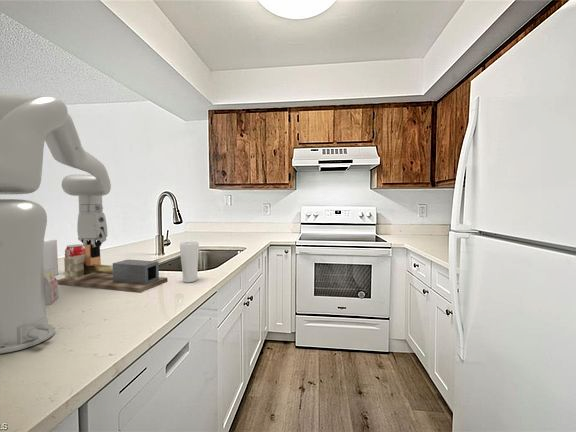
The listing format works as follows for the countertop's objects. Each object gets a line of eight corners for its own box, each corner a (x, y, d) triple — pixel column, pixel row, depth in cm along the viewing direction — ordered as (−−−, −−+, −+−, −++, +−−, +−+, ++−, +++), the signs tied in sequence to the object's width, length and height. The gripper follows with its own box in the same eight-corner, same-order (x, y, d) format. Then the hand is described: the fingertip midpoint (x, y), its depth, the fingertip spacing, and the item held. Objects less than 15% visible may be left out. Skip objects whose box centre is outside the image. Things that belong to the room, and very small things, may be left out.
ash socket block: (101, 273, 118) (100, 254, 118) (77, 280, 108) (76, 259, 108) (89, 272, 120) (88, 253, 119) (65, 279, 110) (64, 258, 110)
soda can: (61, 274, 123) (60, 246, 122) (77, 270, 130) (76, 243, 129) (73, 275, 121) (72, 247, 120) (89, 271, 128) (88, 244, 127)
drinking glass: (177, 282, 112) (176, 243, 111) (190, 277, 118) (189, 241, 117) (189, 284, 108) (189, 244, 108) (202, 279, 114) (202, 242, 114)
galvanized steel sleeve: (158, 279, 109) (158, 261, 109) (145, 285, 102) (144, 265, 102) (128, 277, 113) (127, 259, 112) (113, 282, 106) (112, 263, 106)
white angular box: (35, 306, 86) (33, 273, 85) (43, 299, 92) (42, 268, 92) (51, 304, 87) (49, 272, 87) (58, 297, 94) (56, 267, 93)
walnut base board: (167, 281, 112) (167, 277, 112) (140, 292, 99) (140, 288, 99) (90, 274, 122) (90, 271, 122) (55, 284, 109) (55, 280, 109)
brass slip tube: (133, 274, 110) (132, 245, 110) (125, 276, 106) (124, 246, 106) (88, 270, 116) (86, 242, 115) (78, 272, 112) (77, 244, 111)
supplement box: (59, 274, 123) (57, 239, 122) (34, 280, 114) (32, 242, 113) (46, 272, 126) (44, 238, 125) (20, 277, 118) (18, 241, 117)
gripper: (116, 209, 113) (117, 256, 114) (83, 208, 117) (85, 254, 118) (98, 209, 106) (100, 259, 107) (65, 209, 110) (67, 257, 111)
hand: (92, 256), depth 112 cm, fingers closed on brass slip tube, 2 cm apart
